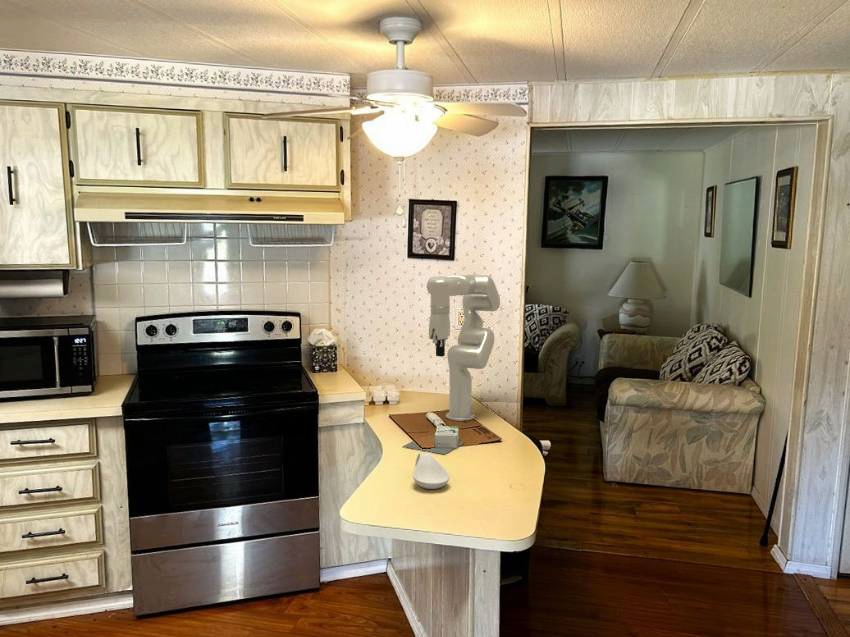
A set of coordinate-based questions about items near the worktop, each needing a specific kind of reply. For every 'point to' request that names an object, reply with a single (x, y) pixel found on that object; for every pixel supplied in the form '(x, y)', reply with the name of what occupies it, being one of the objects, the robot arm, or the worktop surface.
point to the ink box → (446, 436)
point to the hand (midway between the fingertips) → (440, 355)
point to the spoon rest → (429, 472)
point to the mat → (434, 450)
